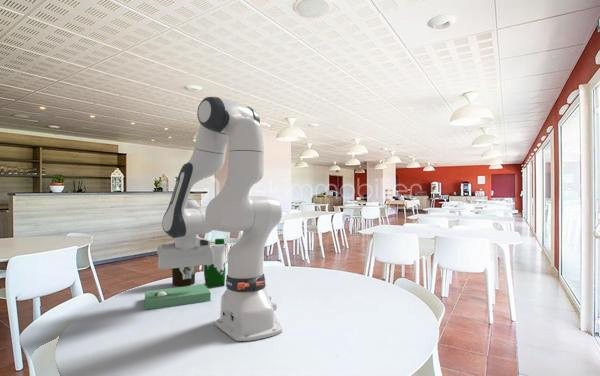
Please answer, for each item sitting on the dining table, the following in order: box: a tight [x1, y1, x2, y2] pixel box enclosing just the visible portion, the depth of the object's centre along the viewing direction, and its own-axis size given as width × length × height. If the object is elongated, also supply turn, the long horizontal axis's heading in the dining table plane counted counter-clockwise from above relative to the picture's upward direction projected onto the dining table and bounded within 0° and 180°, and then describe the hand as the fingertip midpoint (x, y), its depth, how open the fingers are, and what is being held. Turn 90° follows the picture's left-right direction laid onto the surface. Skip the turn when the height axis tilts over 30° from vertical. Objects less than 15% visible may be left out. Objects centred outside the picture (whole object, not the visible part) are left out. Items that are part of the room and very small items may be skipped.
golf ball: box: [157, 291, 167, 296], centre depth 119 cm, size 4×4×4 cm
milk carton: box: [203, 238, 227, 288], centre depth 143 cm, size 9×9×20 cm
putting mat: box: [144, 283, 212, 311], centre depth 121 cm, size 22×13×3 cm, turn 117°
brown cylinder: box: [171, 266, 197, 287], centre depth 145 cm, size 11×11×25 cm
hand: (187, 278), depth 122 cm, fingers closed
